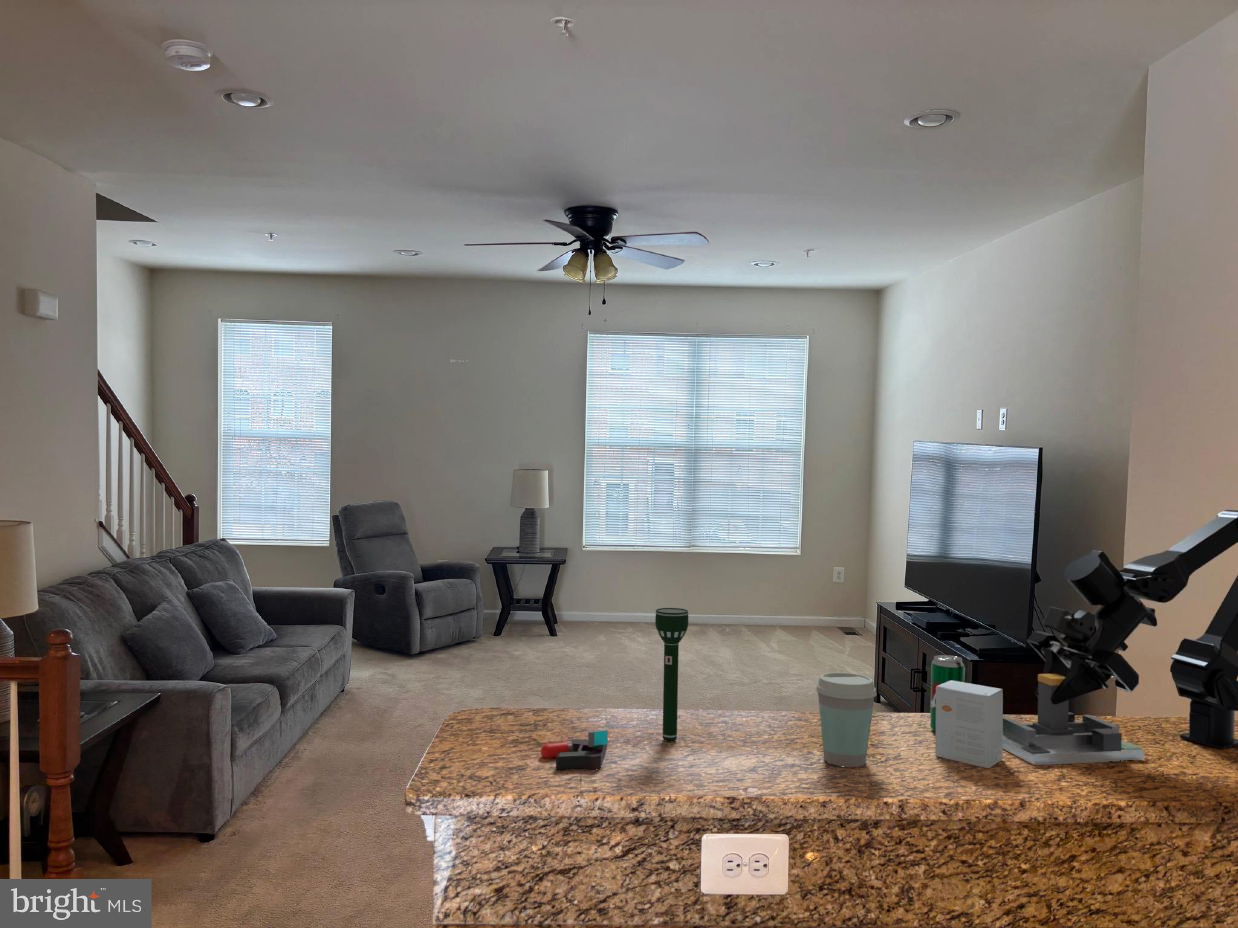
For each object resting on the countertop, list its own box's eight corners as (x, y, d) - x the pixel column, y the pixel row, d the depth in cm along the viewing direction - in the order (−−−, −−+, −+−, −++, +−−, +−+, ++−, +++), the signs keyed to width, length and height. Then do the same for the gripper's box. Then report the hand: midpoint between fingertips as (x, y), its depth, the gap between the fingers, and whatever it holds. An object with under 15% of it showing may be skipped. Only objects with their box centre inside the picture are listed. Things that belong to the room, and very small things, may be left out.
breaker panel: (1082, 733, 142) (1083, 708, 142) (1144, 759, 129) (1144, 732, 129) (980, 737, 139) (981, 712, 139) (1033, 765, 126) (1034, 737, 126)
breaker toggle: (1055, 733, 136) (1056, 672, 136) (1073, 741, 132) (1074, 678, 132) (1032, 733, 136) (1033, 673, 136) (1049, 741, 132) (1050, 679, 132)
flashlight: (648, 742, 133) (650, 611, 133) (659, 733, 138) (662, 606, 138) (680, 747, 131) (682, 614, 131) (690, 737, 136) (692, 609, 136)
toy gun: (611, 747, 132) (612, 715, 132) (604, 775, 120) (604, 740, 120) (548, 744, 133) (548, 712, 133) (534, 772, 121) (534, 737, 121)
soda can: (966, 737, 139) (967, 662, 139) (932, 735, 140) (934, 660, 140) (960, 728, 144) (961, 655, 144) (928, 726, 145) (929, 653, 145)
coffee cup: (879, 756, 129) (880, 675, 129) (870, 775, 121) (871, 688, 121) (821, 748, 132) (822, 668, 132) (808, 765, 124) (810, 680, 125)
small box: (1003, 760, 128) (1004, 688, 128) (989, 769, 124) (990, 695, 124) (949, 747, 134) (950, 678, 134) (934, 756, 129) (935, 685, 129)
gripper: (1038, 581, 144) (976, 650, 142) (1122, 598, 126) (1052, 677, 124) (1080, 628, 145) (1019, 697, 143) (1169, 652, 127) (1101, 731, 125)
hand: (1044, 699), depth 134 cm, fingers closed on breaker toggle, 3 cm apart
